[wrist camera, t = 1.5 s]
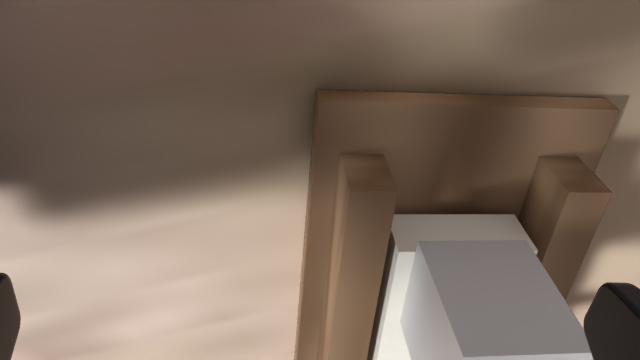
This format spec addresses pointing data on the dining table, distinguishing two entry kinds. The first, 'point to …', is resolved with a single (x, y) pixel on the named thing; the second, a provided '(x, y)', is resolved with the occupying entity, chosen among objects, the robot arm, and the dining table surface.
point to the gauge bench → (438, 190)
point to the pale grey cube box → (469, 294)
